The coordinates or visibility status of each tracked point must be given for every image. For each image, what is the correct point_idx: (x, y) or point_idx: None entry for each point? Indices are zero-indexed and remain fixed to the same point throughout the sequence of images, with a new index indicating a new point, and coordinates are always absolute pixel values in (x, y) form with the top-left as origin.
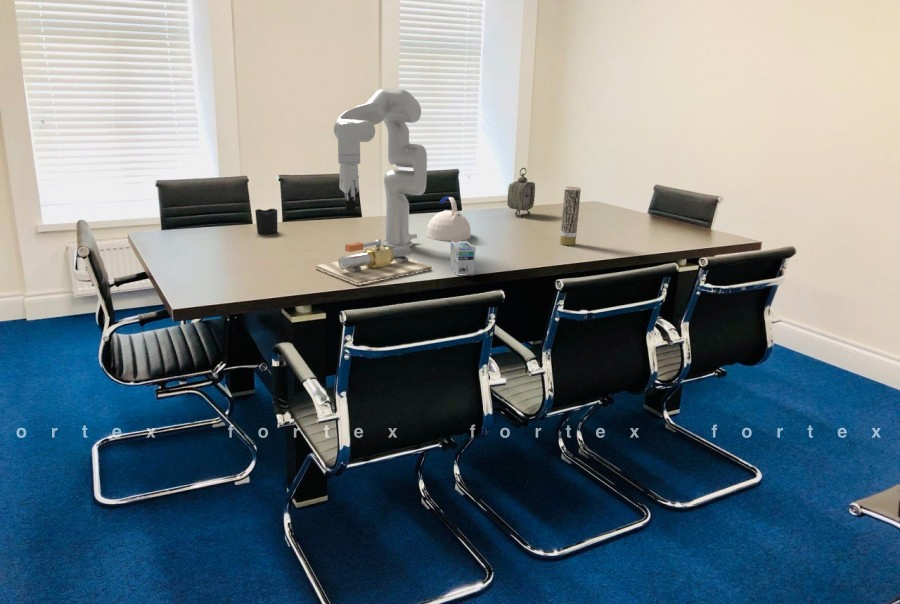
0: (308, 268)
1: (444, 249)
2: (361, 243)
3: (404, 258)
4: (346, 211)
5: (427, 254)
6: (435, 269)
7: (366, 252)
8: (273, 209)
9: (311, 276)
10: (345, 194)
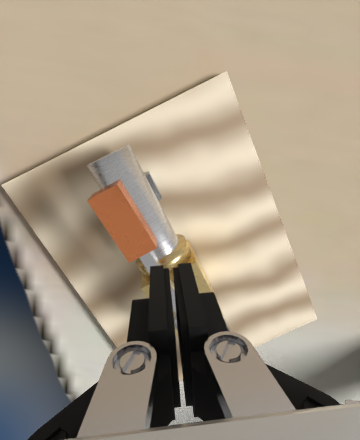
0: (241, 47)
1: None
2: (131, 256)
3: None
4: (150, 266)
5: None
6: None
7: (162, 258)
8: None
9: (138, 42)
10: (233, 393)
